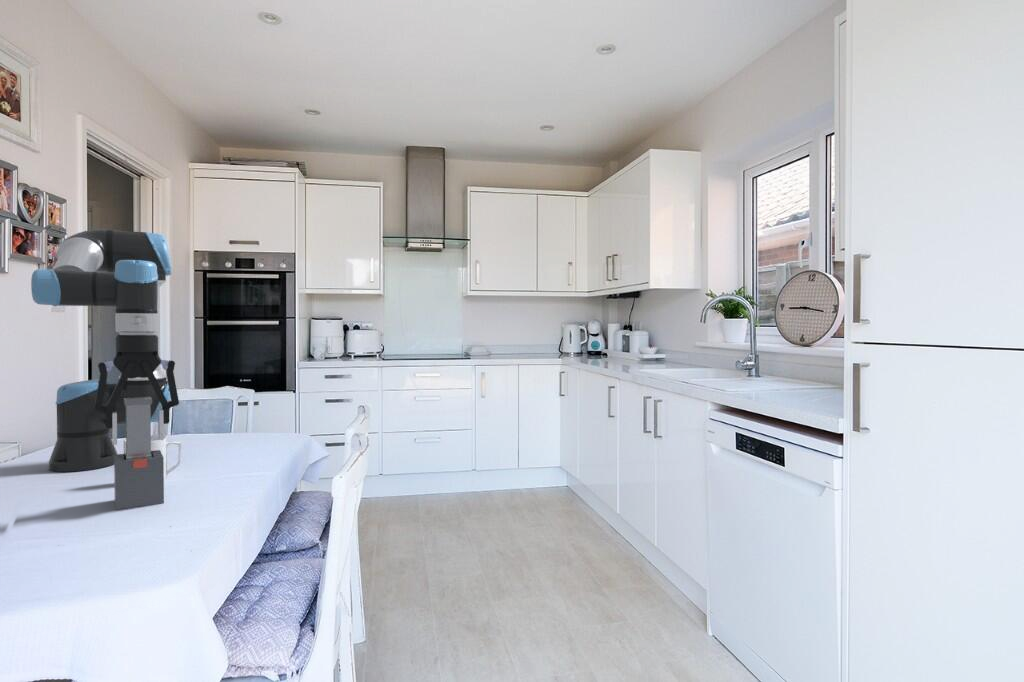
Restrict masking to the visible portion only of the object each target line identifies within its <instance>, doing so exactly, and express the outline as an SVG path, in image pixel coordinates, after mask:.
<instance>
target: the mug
mask: <svg viewBox="0 0 1024 682" xmlns="http://www.w3.org/2000/svg"><path fill="white" fill-rule="evenodd" d="M167 439H168V437H167V436H166V435H164V440H159V434H157V435H156V434H154V435H153V434H151V451H155V450H160V451H161V453H162V455H163V459H164V480H165V479H167V478H168V475H169V474H170V473H171V472H172V471H174V470H176V469H177V468H178V467H179V466H180V464H181V459H182V458H181V457H182V454H181V453H182V442H178V441H170V442H168V440H167ZM170 445H177V446H178V458H177V463H176V464H175V465H173V466H172V467H171V468H169V469H168V452H167V448H168V447H169V446H170ZM123 454H126V438H125V439H124V440H123Z"/></svg>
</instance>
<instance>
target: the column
mask: <svg viewBox="0 0 1024 682" xmlns="http://www.w3.org/2000/svg"><path fill="white" fill-rule="evenodd" d="M150 404H152V398H151V397H140V398H124V405H125V406H126V424H125V439H126V460H129V459H138V458H147V457H152V454H151V435H152V432H151V431H152V429H151V426H152V425H151V424H152V422H151V411H150Z"/></svg>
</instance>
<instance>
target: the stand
mask: <svg viewBox="0 0 1024 682" xmlns="http://www.w3.org/2000/svg"><path fill="white" fill-rule="evenodd" d="M151 454H152V457H147V458H138V459H129V460H126V454H124V453H119V454H118V453H117V455H114V464H113V467H114V468H113V473H114V475H113V477H114V479H113V480H114V481H113V482H114V484H113V485H114V507H115V511H116V512H117V511H122V510H129V509H137V508H143V507H149V506H150V507H151V506H157V505H163V504H165V488H164V487H165V482H164V481H165V479H164V459H163V455H162V453H161V451H160V450H155V451H151Z"/></svg>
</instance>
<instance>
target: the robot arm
mask: <svg viewBox="0 0 1024 682" xmlns="http://www.w3.org/2000/svg"><path fill="white" fill-rule="evenodd" d="M56 257H57V260H56V262H55V263H54V265H53V267H52V268H47V269H35V270H34V271H33V272H32V274H31V279H30V280H31V283H30V287H31V288H30V289H31V297H32V300H33V302H34V303H35V304H37V305H43V306H45V305H46V306H53V307H58V306H64V307H66V306H70V307H71V306H73V307H75V306H76V307H115V317H114V319H115V332H116V333H118V335H116V336H115V356H114V358H113V360H110V361H104V362H103V361H100V362H99V363H98V364H97V367H98V369H99V378H96V379H87V380H82V381H75V382H69V383H67V384H63V385H61V386H59V387H58V389H57V390H56V402H55V405H56V442H55V444H54V447H53V450H52V452H51V454H50V458H49V460H48V470H49V471H52V472H58V473H59V472H60V473H61V472H63V473H64V472H66V473H67V472H69V473H70V472H79V471H80V472H81V471H90V470H91V471H92V470H95V469H101V468H106V467H110V466H112V465H113V466H114V455H117V454H118V452H117V449H116V446H115V445H117V446H118V426H120V425H126V406H125V405H124V398H140V397H151V398H152V404H150V411H151V423H157V422H158V425H157V426H158V429H157V430H158V433H157V435H159V440H164V436H165V435H164V434H165V431H164V430H165V429H164V425H165V424H167V425H168V424H169V423H170V409H171V408H172V407H175V406H178V405H179V404H180V400H179V395H178V390H177V385H176V384H177V383H176V379H175V374H174V370H175V366H176V362H175V361H174V360H172V359H169V360H166V359H162V358H161V306H160V305H161V293H160V291H161V289H160V288H161V286H162V285H163V284H165V283H166V281H167V279H166V278H167V277H168V276H171V275H172V266H171V259H170V253H169V248H168V243H167V238H166V237H165V236H164V235H163V234H159V233H156V232H155V233H153V232H147V231H145V232H144V231H131V230H130V231H128V230H117V229H115V230H114V229H105V228H104V229H103V228H97V229H90V230H89V229H88V230H84V231H81V232H77V233H74V234H72V235H69V236H68V237H67V238H65V239H64V240H63V241H62V242H61V243H60V244H59V245H58V248H57V250H56ZM166 276H167V277H166ZM161 365H162V369H163V370H164V371H165V372H163V370H161ZM112 367H115V368H116V369H117V370H118V371H119V372H120V373H121V374H120V375H119V376H118V381H117V383H111V382H110V379H109V378H108V373H110V372H111V371H112ZM110 429H112V430H110ZM111 432H112V436H111Z"/></svg>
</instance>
